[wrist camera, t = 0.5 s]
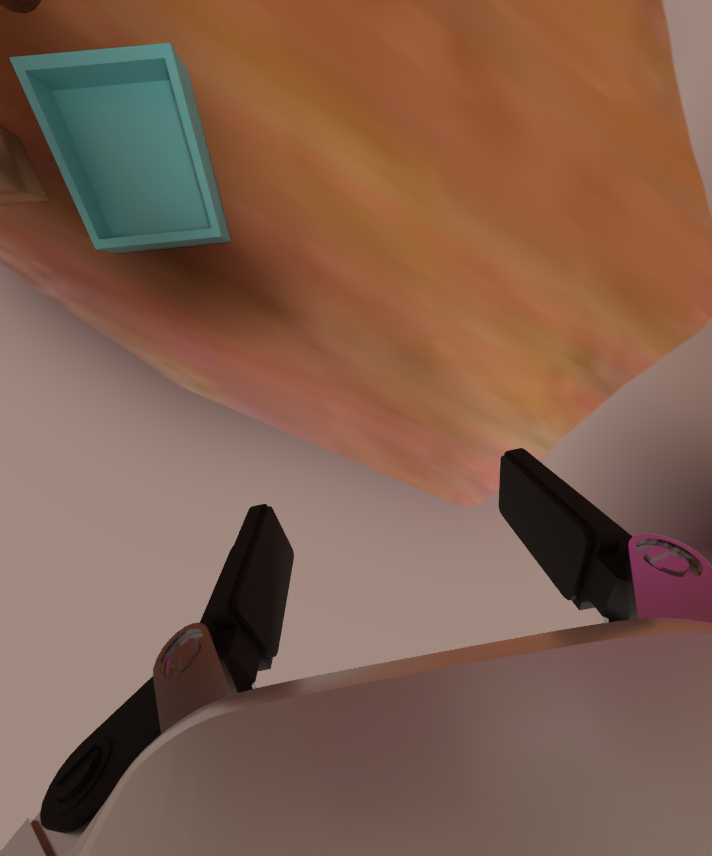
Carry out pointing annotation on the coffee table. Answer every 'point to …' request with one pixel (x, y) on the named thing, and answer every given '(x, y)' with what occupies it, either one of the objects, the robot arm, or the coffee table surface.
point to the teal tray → (128, 145)
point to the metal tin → (20, 5)
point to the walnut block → (17, 173)
